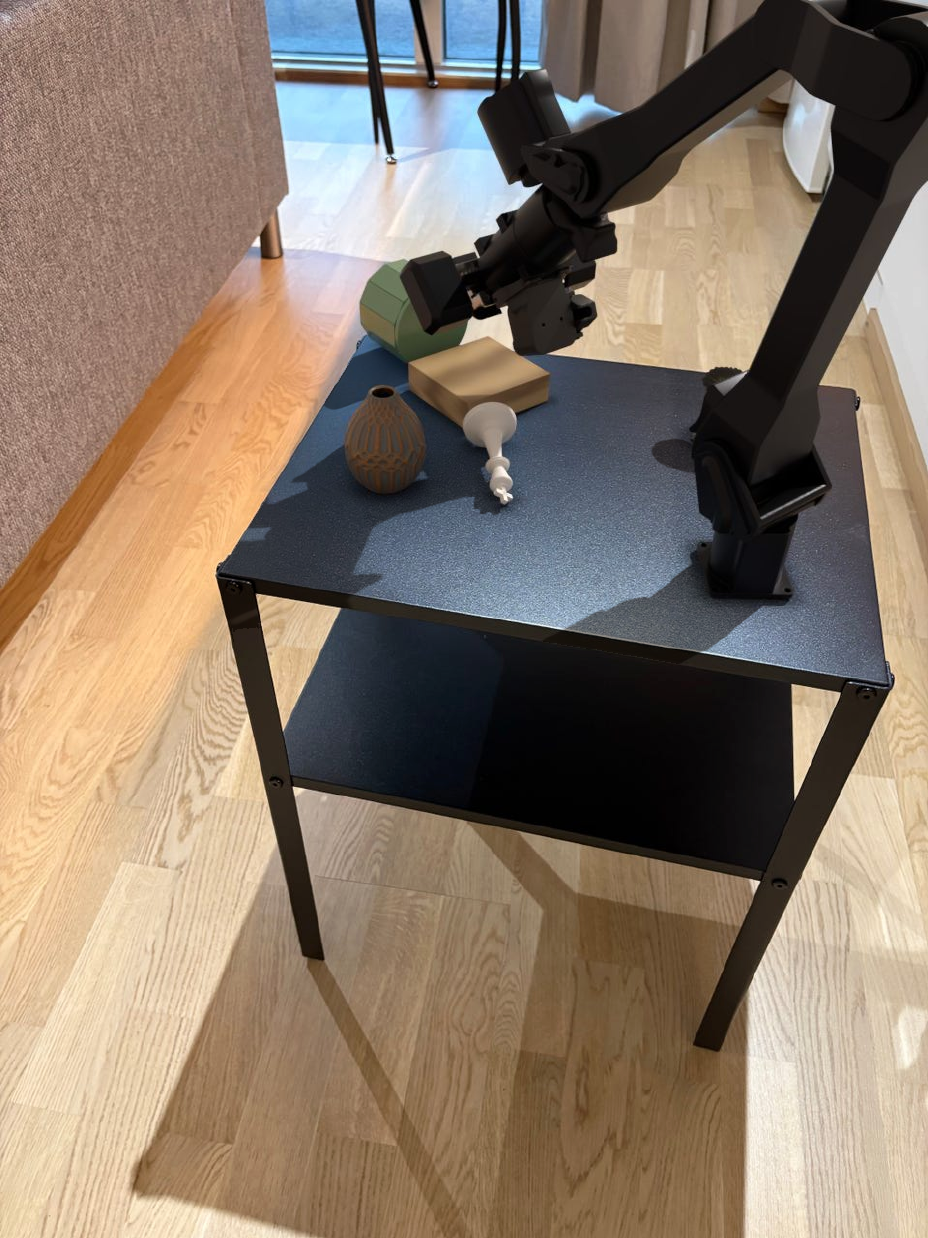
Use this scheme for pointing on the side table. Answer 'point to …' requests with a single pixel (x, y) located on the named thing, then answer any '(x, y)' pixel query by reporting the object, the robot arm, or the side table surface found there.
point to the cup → (399, 318)
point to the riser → (477, 379)
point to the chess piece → (493, 441)
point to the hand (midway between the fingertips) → (461, 312)
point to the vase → (385, 442)
